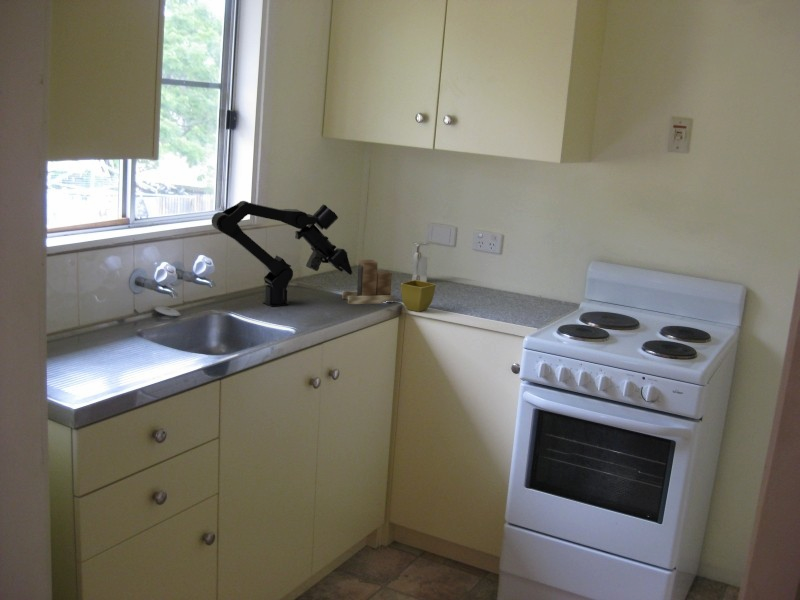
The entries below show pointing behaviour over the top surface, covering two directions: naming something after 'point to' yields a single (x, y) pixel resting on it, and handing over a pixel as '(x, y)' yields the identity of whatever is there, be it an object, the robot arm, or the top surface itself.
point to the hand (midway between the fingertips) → (346, 272)
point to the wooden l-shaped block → (381, 291)
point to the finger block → (367, 278)
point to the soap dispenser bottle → (420, 260)
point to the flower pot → (417, 294)
